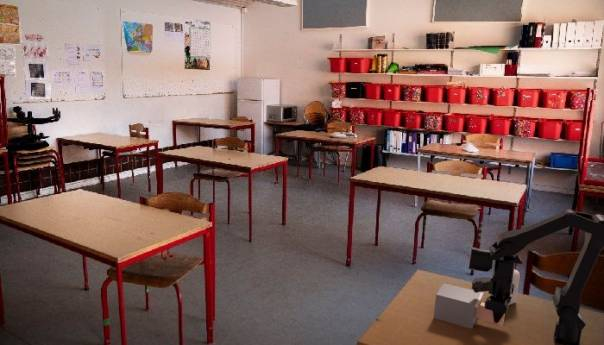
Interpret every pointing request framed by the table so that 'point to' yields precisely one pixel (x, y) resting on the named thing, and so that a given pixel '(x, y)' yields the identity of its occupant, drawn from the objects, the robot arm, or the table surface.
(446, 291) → the pale grey box
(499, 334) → the table surface
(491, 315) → the pink rectangular block
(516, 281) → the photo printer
